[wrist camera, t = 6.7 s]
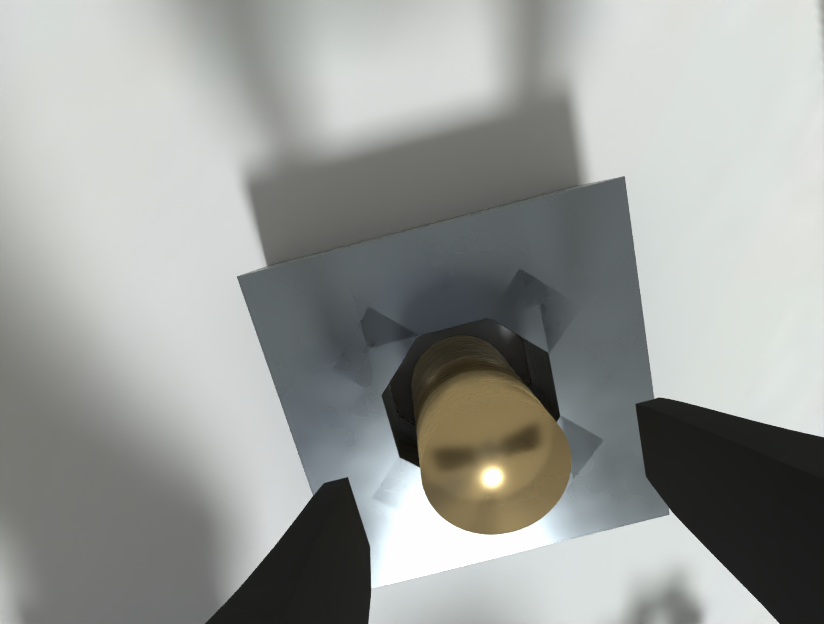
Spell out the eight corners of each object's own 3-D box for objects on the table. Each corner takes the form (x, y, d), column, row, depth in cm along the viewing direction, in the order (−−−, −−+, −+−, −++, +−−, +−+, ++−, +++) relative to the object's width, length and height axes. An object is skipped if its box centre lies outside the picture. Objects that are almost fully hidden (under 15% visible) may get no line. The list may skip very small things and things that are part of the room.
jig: (355, 533, 18) (347, 594, 15) (266, 266, 15) (237, 276, 12) (624, 466, 18) (669, 514, 15) (580, 185, 15) (624, 176, 12)
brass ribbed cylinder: (424, 438, 17) (439, 550, 11) (401, 348, 16) (404, 419, 10) (517, 415, 17) (581, 516, 11) (499, 324, 16) (558, 382, 10)
